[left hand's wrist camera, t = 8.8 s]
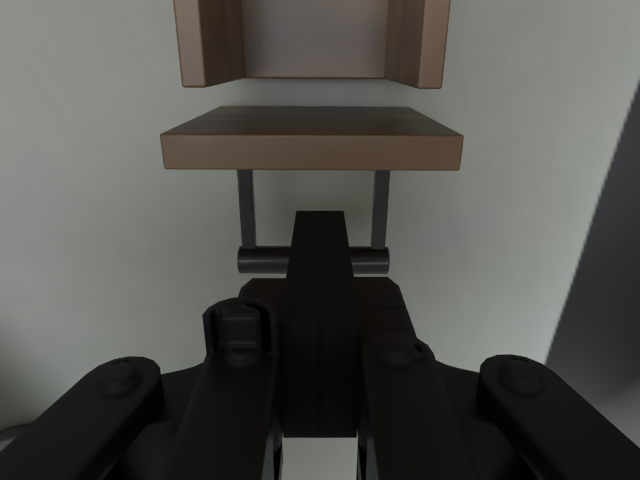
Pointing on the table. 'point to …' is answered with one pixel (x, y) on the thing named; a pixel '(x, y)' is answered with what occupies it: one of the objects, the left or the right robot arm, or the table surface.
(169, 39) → the table surface
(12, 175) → the table surface
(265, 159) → the drawer
